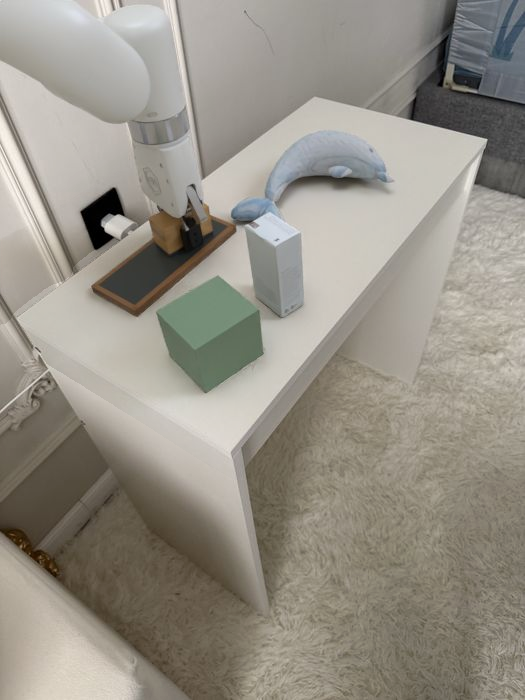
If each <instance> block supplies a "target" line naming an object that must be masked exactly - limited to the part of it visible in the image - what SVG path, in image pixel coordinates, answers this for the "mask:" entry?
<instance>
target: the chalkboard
mask: <svg viewBox="0 0 525 700" xmlns="http://www.w3.org/2000/svg"><path fill="white" fill-rule="evenodd" d="M210 217H211V223H212V229H213V234H212V235H211V236H209V237H207V238H205V239H203V241H204V243H203V244H202V245H201V246H199V247H197V248H195V249H193V250H191V251H190V252H186V251H185V250H183V251H181V252H179V253H177V254H176V255H174V256H172V257H169V256H168V255H166V254H165V253H164V252H163V251H162V250H161V249H159V248H158V247H157V246H156V244H155V241H154V237H152V238H150V240H149V241H147V242H146V243H145V244H143V245H142V246H140V247H139V248H138V249H137V250H135V251H134V252H133V253H132V254H130V255H129V256H127V258H125V259H123V261H121V262H120V263H119V264H117V265H116V266H115V267H114V268H112V269H111V270H110V271H108V272H107V273H106V274H104V275H103V276H102V277H101V278H99V279H98V280H97V281H95V282H94V283H92V284H91V285H90V288H91V291H92V293H94V294H96V295H98V296H99V297H101V298H102V299H104V300H106V301H108V302H110V303H112V304H113V305H114V306H117V307H119V308H121V309H122V310H124V311H126V312H128V313H129V314H131V315H132V316H135V317H139V316H140V315H141V314H142V313H144V312H145V311H146V310H147V309H148V308H149V307H150V306H151V305H153V304H154V303H155V302H156V301H157V300H159V299H160V298H161V297H162V296H163V295H164V294H166V293H167V292H168V291H169V290H170V289H171V288H173V287H174V286H175V285H176V284H177V283H178V282H180V281H181V280H182V279H183V278H185V276H187V275H188V274H189V273H190V272H191V271H192V270H193V269H195V268H196V267H197V266H199V264H201V263H202V262H203V261H204V260H205V259H207V258H208V257H209V256H210V255H211V254H212V253H213V252H215V251H216V250H217V249H218V248H220V246H221V245H223V244H224V243H225V242H226V241H227V240H229V239H230V238H231V237H232V236H233V235H234V234H235V233H237V225H236V224H234V223H231V222H229V221H226V220H224V219H221V218H219V217H216V216H214V215H212V214H210Z"/></svg>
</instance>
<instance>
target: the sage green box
mask: <svg viewBox="0 0 525 700" xmlns="http://www.w3.org/2000/svg"><path fill="white" fill-rule="evenodd" d="M155 313H156V317H157V321H158V324H159V326H160V327H159V328H160V329H161V332H162V336H163V340H164V343H165V345H166V349H167V352H168V355H169V357H170V358H172V360H173V361H174V362H175V363H176V364H177V365H178V366H179V367H180V368H181V369H182V370H183V371H184V372H185V373H186V374H187V376H189V377H190V379H191V380H192V381H193V382H194V383H195V384H196V385H197V386H198V387H199V388H200V389H201V390H202V391H203V392H204V393H206V394H207V393H208V392H209V391H211V390H213V389H214V388H216V387H217V386H219V385H220V384H221V383H223V382H224V381H226V380H228V379H229V378H230V377H232V376H233V375H235V374H236V373H238V372H239V371H241V370H242V369H243V368H245V367H246V366H248V365H250V364H251V363H252V362H254V361H256V360H257V359H258V358H260V357H262V356H263V355H264V344H263V333H262V323H261V313H260V308H258V307H257V306H256V305H255V304H254V303H252V302H251V301H250V300H249V299H248V298H246V297H245V296H244V295H242V293H240V292H239V291H238V290H237V289H236V288H234V287H233V286H232V285H231V284H229V283H228V282H227V281H226V280H224V279H223V278H222V277H221V276H220V275H218V274H217V275H216V276H213V277H212V278H210V279H209V280H206V281H205V282H203V283H201V284H200V285H198V286H197V287H195V288H193V289H191V290H189V291H188V292H186V293H185V294H182V295H181V296H180V297H178V298H176V299H174V300H172V301H171V302H169V303H167V304H166V305H164V306H162V307H161V308H159V309H157V310H156V311H155Z"/></svg>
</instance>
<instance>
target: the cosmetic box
mask: <svg viewBox="0 0 525 700" xmlns="http://www.w3.org/2000/svg"><path fill="white" fill-rule="evenodd" d="M244 230H245V236H246V243H247V251H248V257H249V263H250V271H251V278H252V284H253V291H254V296H255V297H256V298H257V299H258V300H259V301H261V302H262V303H263V304H264V305H266V307H268V308H269V309H271V310H272V311H273V312H274V313H275V314H276V315H277V316H279V317H280V318H284V317H286V316H288V315H290V314H291V313H293V312H294V311H296V310H298V309H299V308H300V307H303V305H304V304H305V291H304V290H305V289H304V268H303V249H302V232H301V231H300V230H298V229H296V228H295V227H294V226H292V225H291V224H289V223H287V222H284V221H283V220H281V219H280V218H278V217H277V216H275V215H274V214H272V213H271V212H269V213H267V214H265V215H263V216H261V217H258V218H257V219H255V220H251V221H250V222H249V223H247V224H245V225H244Z"/></svg>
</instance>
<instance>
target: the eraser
mask: <svg viewBox="0 0 525 700" xmlns="http://www.w3.org/2000/svg"><path fill="white" fill-rule="evenodd" d="M187 205H188V204H187ZM203 208H204V211H205V213H206V215H207V217H208V220H206V221H204V222H202V224H200V225H201V230H202V236H203V239H205V238H207V237H209V236H211V235H212V234H213V229H212V223H211V217H210V215H211V212H210V211H211V210H210V206H209V205H207V204H206V203H205V202H204V204H203ZM191 217H193V215H192V212H191V211H190V212H188V213H186V214H185V218H186V221H187V220H188V219H189V218H191ZM147 220H148V222H149V226H150V229H151V233H152V238H154V241H155V244H156V246H157V247H158V248H159V249H161V250H162V251H163V252H164V253H165V254H166V255H168V256H169V257H172V256H174V255H176V254H177V253H179V252H181V251H183V250H184V247H183V242H182V238H181V234H180V229H181V228H182V227H181V224H180V221H179V218H175V217H173V216H171V215H170V214H168V213H167V212H166V211H164V210H163V211H161V212H159V211H158V212H157V213H155V214H153V215H151V216H149V217H148V218H147Z"/></svg>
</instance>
